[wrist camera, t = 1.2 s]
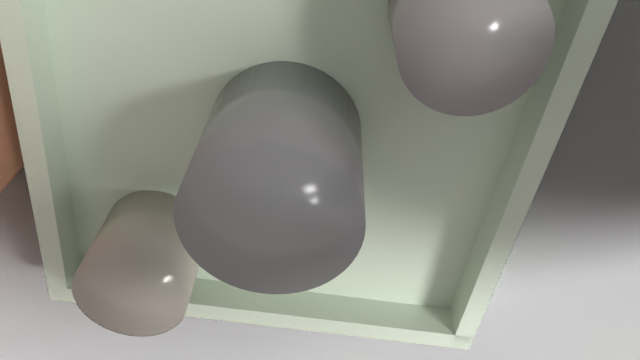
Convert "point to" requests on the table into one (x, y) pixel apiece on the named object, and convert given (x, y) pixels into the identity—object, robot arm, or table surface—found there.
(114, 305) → the pebble
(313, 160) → the grey rounded cylinder
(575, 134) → the table surface
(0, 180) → the bowl
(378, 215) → the tray
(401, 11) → the pebble
